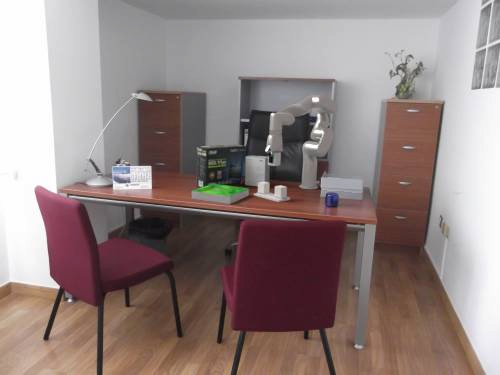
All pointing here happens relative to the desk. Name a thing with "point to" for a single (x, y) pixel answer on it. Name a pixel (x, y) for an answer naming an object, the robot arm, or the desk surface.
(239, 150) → the router box
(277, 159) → the block
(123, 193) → the desk surface
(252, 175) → the hard drive box
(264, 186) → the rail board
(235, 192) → the tray
